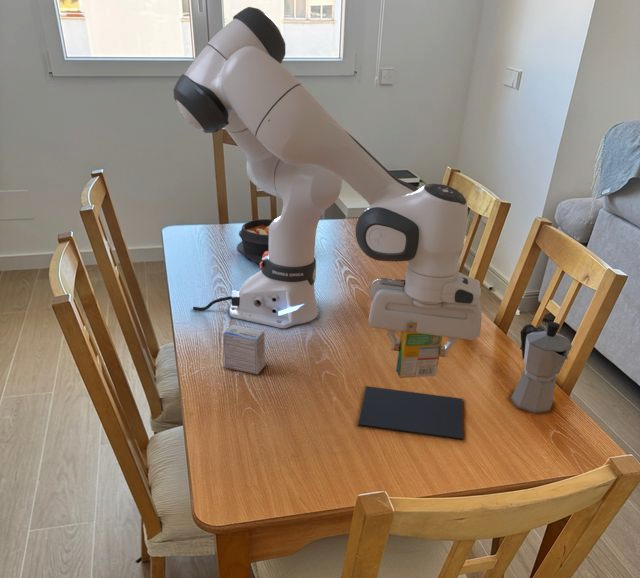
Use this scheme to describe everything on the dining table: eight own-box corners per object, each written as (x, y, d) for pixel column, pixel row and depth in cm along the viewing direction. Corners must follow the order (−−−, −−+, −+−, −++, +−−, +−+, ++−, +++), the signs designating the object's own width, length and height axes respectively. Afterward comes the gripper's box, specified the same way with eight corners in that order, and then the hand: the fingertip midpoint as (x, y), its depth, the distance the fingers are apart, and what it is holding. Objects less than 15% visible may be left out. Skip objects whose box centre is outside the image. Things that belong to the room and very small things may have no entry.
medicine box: (265, 365, 139) (265, 330, 134) (257, 375, 135) (256, 339, 130) (233, 358, 141) (231, 323, 136) (224, 368, 137) (222, 332, 132)
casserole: (306, 268, 184) (307, 240, 179) (242, 271, 180) (241, 243, 175) (289, 238, 204) (289, 212, 199) (231, 241, 200) (230, 214, 195)
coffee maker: (567, 415, 128) (593, 337, 118) (529, 421, 126) (553, 341, 115) (527, 377, 140) (548, 303, 129) (492, 382, 137) (510, 306, 127)
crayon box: (431, 368, 123) (441, 314, 116) (436, 376, 121) (446, 321, 114) (395, 370, 122) (402, 315, 115) (399, 378, 119) (407, 323, 113)
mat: (358, 425, 122) (358, 424, 122) (366, 387, 133) (366, 386, 133) (462, 440, 120) (462, 438, 120) (461, 400, 131) (462, 398, 131)
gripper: (369, 283, 109) (362, 353, 117) (489, 297, 107) (473, 367, 115) (373, 269, 114) (366, 337, 122) (488, 282, 112) (473, 351, 120)
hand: (419, 352), depth 118 cm, fingers closed on crayon box, 7 cm apart
